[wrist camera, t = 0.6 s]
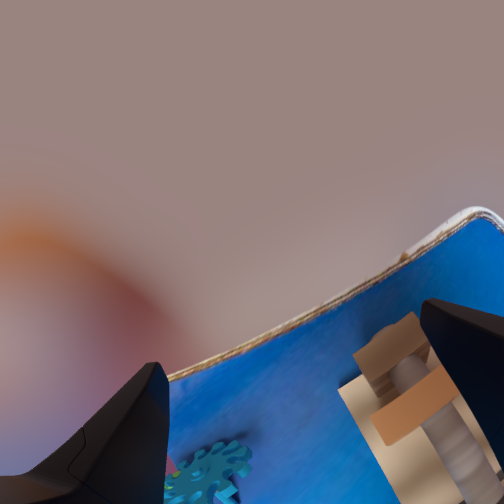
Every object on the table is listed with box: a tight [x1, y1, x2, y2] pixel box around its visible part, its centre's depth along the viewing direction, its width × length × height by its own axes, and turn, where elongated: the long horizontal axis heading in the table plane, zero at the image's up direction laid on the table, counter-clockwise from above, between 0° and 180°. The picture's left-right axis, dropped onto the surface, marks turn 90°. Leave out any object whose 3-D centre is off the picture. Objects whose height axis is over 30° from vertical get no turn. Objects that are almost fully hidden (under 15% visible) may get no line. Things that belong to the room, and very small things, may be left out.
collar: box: [369, 364, 460, 446], centre depth 13 cm, size 2×7×8 cm, turn 110°
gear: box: [164, 440, 252, 504], centre depth 18 cm, size 11×6×10 cm
